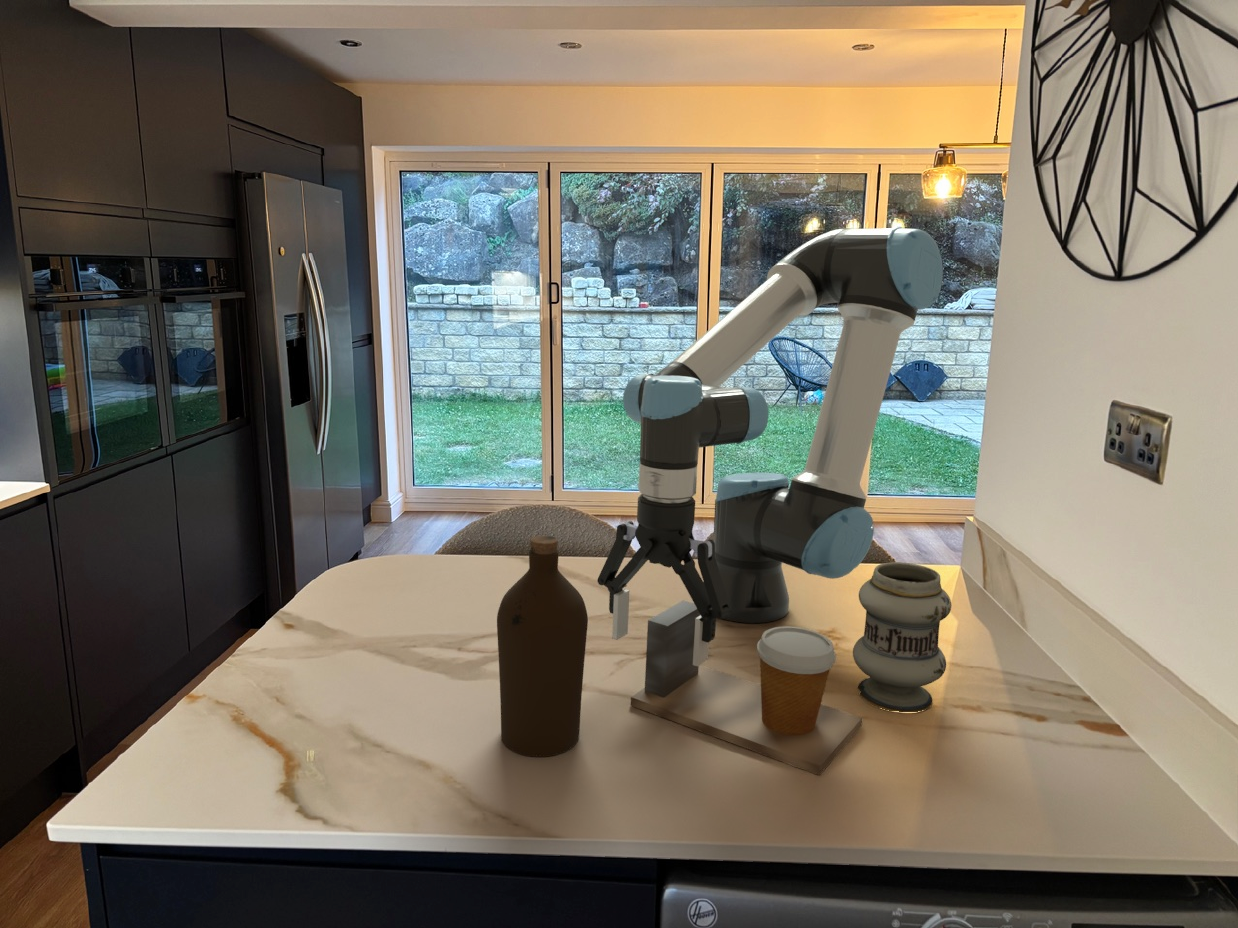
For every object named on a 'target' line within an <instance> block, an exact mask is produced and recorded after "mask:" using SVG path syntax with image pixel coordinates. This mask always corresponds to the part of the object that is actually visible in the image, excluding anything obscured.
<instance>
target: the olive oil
mask: <svg viewBox="0 0 1238 928" xmlns="http://www.w3.org/2000/svg"><path fill="white" fill-rule="evenodd" d="M529 544H530V549H529V550H528V564H529V566H528V570H527V572H525V573H524V574H523V575H522V577H520V578H519V579H518V580H517V581H516V582H515V583H514V584H513V585H512V586H511V587H510V588H509V589H508V590H507V591H506V592H505V594H504V595H503V597H502V599H501V602H500V604H499V607H498V611H497V616H496V630H497V631H496V632H497V652H498V653H497V654H498V670H499V671H498V673H499V675H498V676H499V695H500V696H499V697H500V699H499V700H500V735H501V742H502V743H503V744H504V746H506V747H507V748H508V750H511V751H512V752H514V753H517V754H519V755H523V756H528V757H537V758H538V757H541V758H542V757H551V756H556V755H559V754H563V753H565V752H568V750H570V749H571V748H573V747H574V746H575V745H576V744H577V742H578V741H579V738H580V726H581V709H582V694H583V693H582V692H583V683H584V681H583V680H584V672H585V671H584V669H585V658H586V649H587V648H586V647H587V645H586V644H587V634H588V627H589V626H588V625H589V624H588V623H589V622H588V621H589V620H588V618H589V617H588V611H587V610H588V609H587V607H586V603H585V600H584V597H582V594H581V593H580V592H579V590H578V589H576V588H575V586H574V585H573V584H572V583H571V582H570V581H569V580H568V579H567V578H566V577H565V576H564V575H563V574H562V573H561V572H560V570H559V554H560V553H559V549H558V545H559V540H558V538H556V537H554V536H551V535H537V536H533V537H532V538H530V542H529Z"/></svg>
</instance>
